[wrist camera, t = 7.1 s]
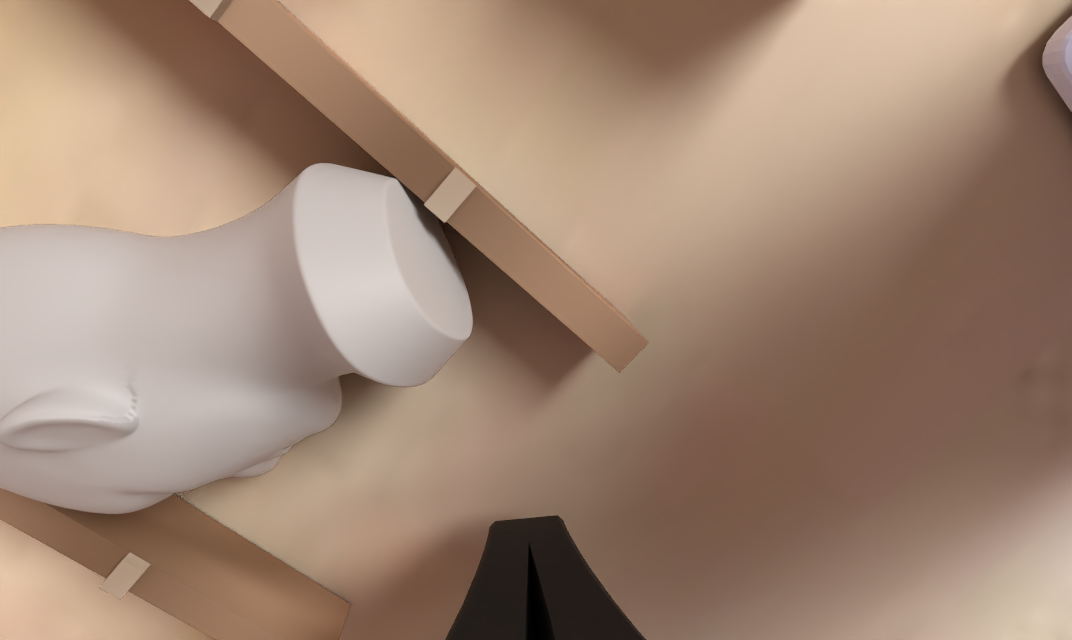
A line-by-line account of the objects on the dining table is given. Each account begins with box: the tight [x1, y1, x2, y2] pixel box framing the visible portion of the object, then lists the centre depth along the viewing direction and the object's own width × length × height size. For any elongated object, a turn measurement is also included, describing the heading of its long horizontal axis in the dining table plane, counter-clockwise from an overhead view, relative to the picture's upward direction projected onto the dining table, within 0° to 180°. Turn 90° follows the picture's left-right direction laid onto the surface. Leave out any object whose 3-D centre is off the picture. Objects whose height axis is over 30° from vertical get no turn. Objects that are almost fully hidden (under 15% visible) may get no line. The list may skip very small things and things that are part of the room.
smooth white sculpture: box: [0, 163, 473, 514], centre depth 9 cm, size 4×8×5 cm
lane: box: [0, 0, 648, 640], centre depth 8 cm, size 17×9×2 cm, turn 48°
